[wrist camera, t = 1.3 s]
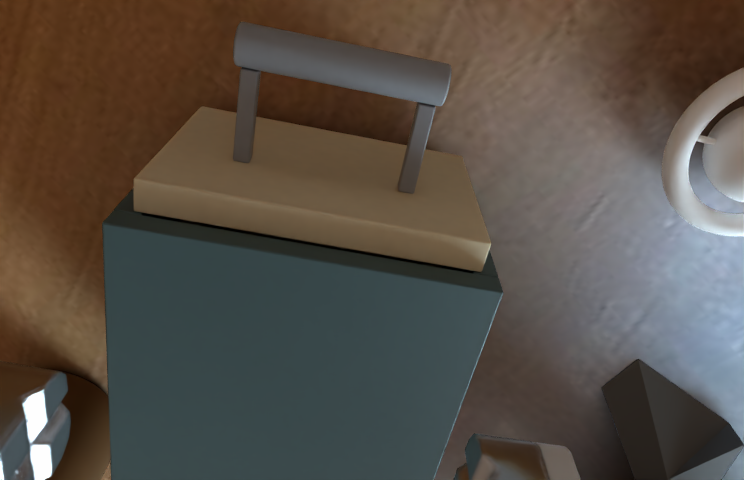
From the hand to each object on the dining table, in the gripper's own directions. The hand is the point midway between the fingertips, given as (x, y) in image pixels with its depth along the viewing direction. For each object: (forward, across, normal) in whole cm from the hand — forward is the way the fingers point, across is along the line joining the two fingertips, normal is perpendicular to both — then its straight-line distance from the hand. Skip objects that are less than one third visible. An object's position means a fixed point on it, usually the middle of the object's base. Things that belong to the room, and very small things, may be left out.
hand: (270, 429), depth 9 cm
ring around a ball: (+19, -18, -2) cm, 26 cm away
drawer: (+18, 0, +6) cm, 19 cm away
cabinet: (+19, 0, +10) cm, 22 cm away
